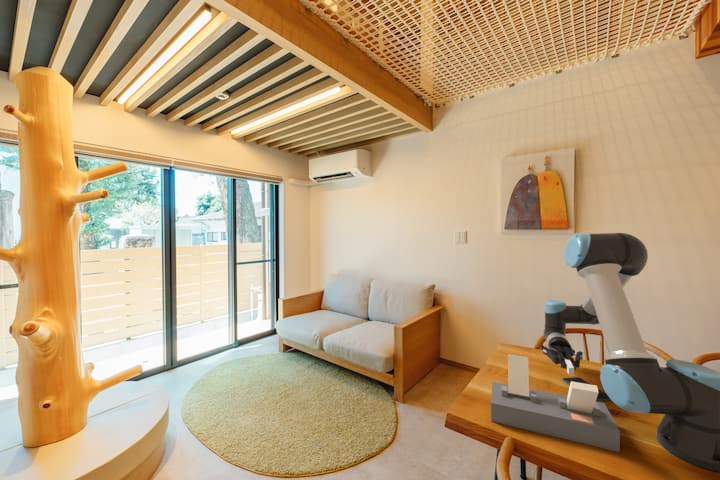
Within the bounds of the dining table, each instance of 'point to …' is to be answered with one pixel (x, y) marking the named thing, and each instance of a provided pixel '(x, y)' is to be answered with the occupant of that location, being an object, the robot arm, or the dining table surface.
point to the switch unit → (554, 417)
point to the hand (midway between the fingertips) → (571, 371)
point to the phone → (601, 394)
